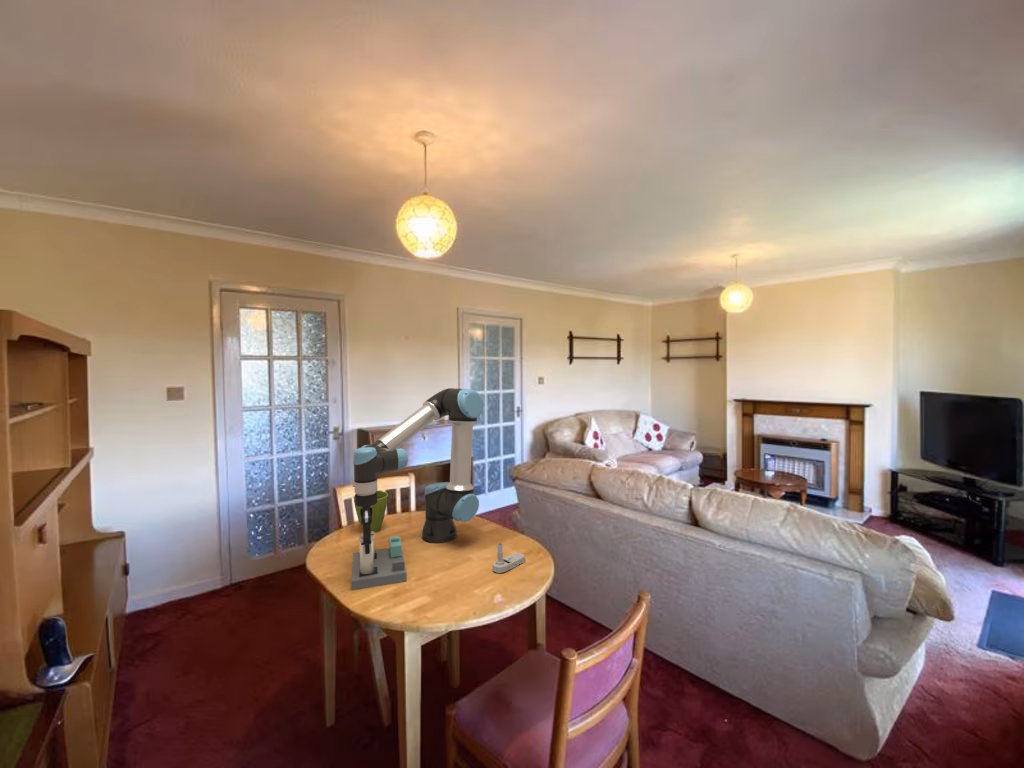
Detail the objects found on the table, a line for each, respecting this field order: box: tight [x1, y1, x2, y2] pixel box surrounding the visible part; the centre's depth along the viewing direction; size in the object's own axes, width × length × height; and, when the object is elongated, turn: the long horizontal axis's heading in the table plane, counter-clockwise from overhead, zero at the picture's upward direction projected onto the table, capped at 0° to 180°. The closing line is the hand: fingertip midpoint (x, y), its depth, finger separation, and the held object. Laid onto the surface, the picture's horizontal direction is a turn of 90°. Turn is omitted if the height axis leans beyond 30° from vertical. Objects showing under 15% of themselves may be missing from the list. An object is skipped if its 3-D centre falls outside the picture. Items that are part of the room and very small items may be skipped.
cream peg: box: [358, 535, 375, 574], centre depth 156 cm, size 5×5×12 cm
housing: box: [350, 547, 408, 591], centre depth 163 cm, size 18×24×6 cm
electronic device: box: [492, 542, 526, 574], centre depth 165 cm, size 5×10×15 cm
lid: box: [389, 535, 403, 557], centre depth 172 cm, size 4×10×5 cm, turn 18°
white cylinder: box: [360, 531, 376, 559], centre depth 168 cm, size 5×5×12 cm
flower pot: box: [353, 490, 389, 533], centre depth 203 cm, size 15×15×16 cm
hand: (367, 559), depth 156 cm, fingers closed on cream peg, 4 cm apart
